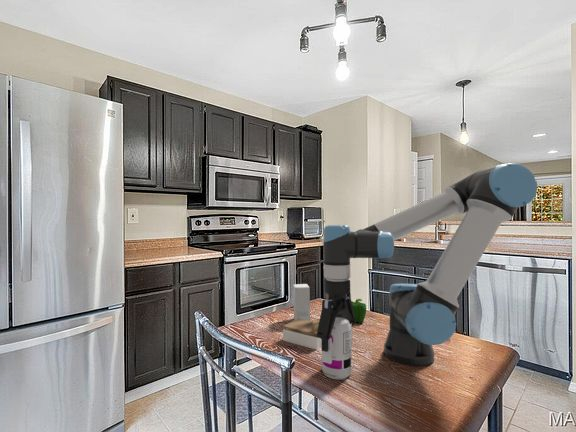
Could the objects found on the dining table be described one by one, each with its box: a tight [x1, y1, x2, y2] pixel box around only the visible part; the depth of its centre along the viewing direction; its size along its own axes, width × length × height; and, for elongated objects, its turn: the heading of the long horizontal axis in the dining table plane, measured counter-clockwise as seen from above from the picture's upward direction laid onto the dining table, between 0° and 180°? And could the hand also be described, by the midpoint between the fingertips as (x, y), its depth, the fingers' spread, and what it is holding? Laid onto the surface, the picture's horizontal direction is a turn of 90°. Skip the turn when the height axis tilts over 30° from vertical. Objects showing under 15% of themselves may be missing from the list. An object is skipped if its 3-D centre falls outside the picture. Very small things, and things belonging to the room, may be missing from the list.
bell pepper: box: [350, 298, 367, 323], centre depth 134 cm, size 8×8×10 cm
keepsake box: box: [282, 328, 321, 350], centre depth 112 cm, size 14×10×4 cm
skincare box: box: [292, 283, 311, 321], centre depth 134 cm, size 8×7×16 cm
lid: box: [282, 318, 320, 336], centre depth 112 cm, size 14×10×4 cm
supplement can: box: [321, 317, 352, 380], centre depth 89 cm, size 8×8×15 cm
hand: (337, 353), depth 89 cm, fingers open, 13 cm apart
